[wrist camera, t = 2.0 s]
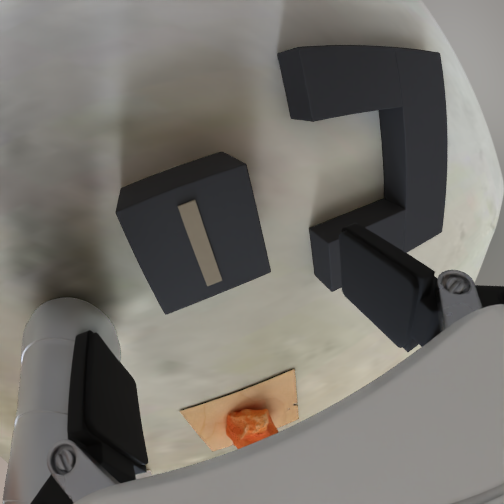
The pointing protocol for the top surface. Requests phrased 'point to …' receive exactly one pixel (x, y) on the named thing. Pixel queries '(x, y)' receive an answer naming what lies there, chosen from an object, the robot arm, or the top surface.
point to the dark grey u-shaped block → (392, 132)
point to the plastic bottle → (47, 389)
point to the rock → (246, 413)
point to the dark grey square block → (194, 230)
